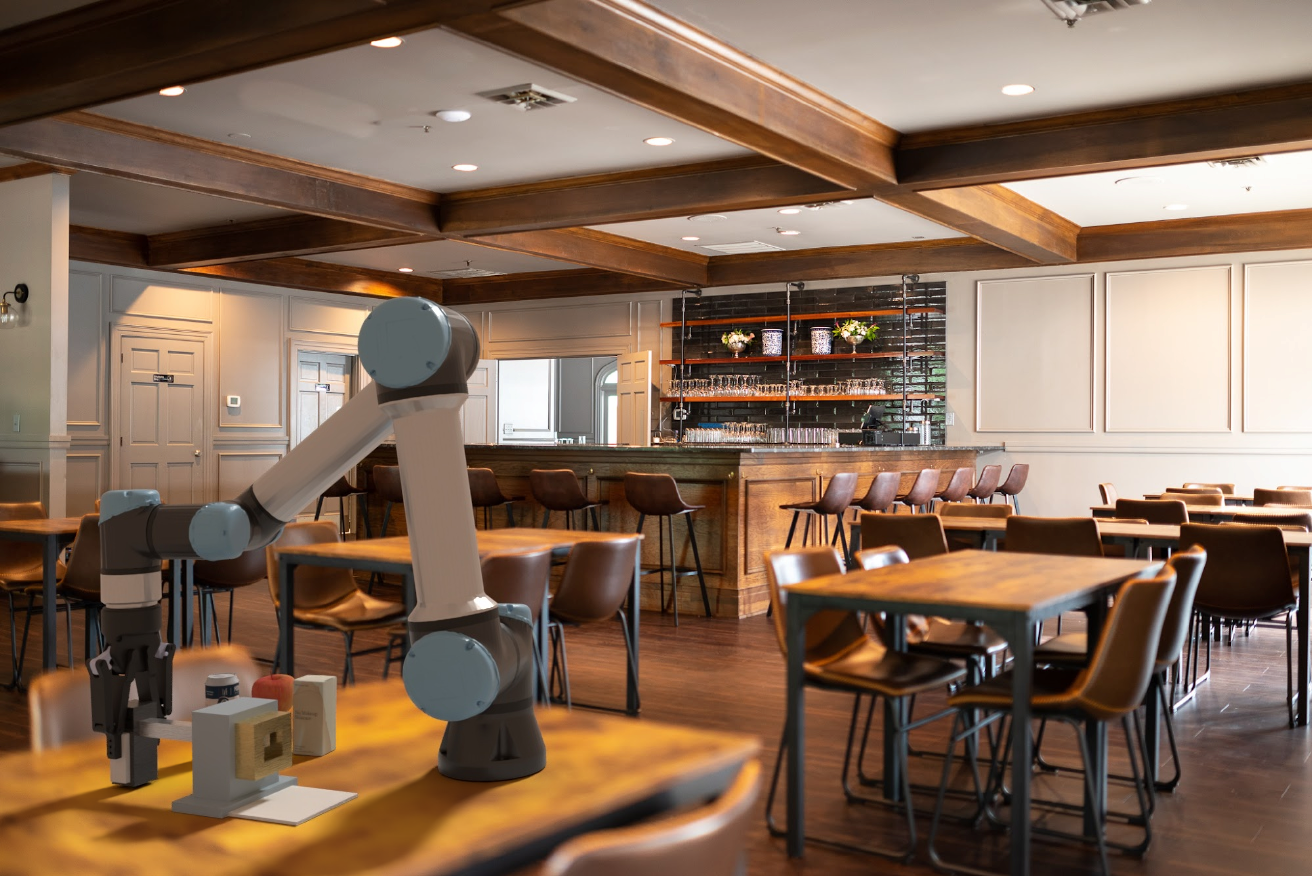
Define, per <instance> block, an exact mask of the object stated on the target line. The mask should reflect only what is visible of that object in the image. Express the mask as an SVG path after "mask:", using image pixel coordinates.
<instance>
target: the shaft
mask: <svg viewBox="0 0 1312 876" xmlns="http://www.w3.org/2000/svg"><path fill="white" fill-rule="evenodd" d="M114 725H115V723H114ZM124 733H129V734H130V782H129V783H126V784H125V783H117V782H111V784H112V785H115V786H116V785H117V786H125V787H133V788H134V787H139V786H140V785H143V784H146V783H149V782H152V781H155V780H157V779H158V778H159V777H158V776H159V775H158V773H159V765H157V753H158V746H157V738H160V740H161V739H162V740H170V741H171V740H172V741H181V742H188V743H192V721H187V720H186V721H185V720H176V719H158V718H157V701H147V700H139V699H134V698H133V699H130V700H129V701H128V708H127V715H126V722H125V729H124ZM267 746H270V734H268V735H265V736H264V747H267Z"/></svg>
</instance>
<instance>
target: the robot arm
mask: <svg viewBox="0 0 1312 876" xmlns="http://www.w3.org/2000/svg"><path fill="white" fill-rule="evenodd" d="M357 352H358V353H357V354H358V355H357V356H358V358H359V361H360V363H361V366H362V367H363V370H364V371H365V372H366V373H367V374H368V375H369V377H370V378H371V379H372V380H371V381H370V382H368V383H367V385H365V386H364V387H363V388H361V390H360V391H358V392H357V393H356V394H355V395H353V396H352V397H351V398H350V399H349V400H348V401H347V402H346V403H344V404H343V405H342V406H341V407H340V408H339V409H338V410H336V411H335V412H334V413H333V414H332V415H330V416H329V417H328V418H327V419H326V420H325V421H324V422H323V423H321V424H320V425H319V426H318V427H317V428H316V429H314V430H313V431H312V432H311V433H310V434H309V435H307V436H306V437H305V438H304V439H303V440H302V441H300V442H299V443H298V444H296V446H294V447H293V448H292V449H291V450H290V451H289V452H287V453H286V454H285V455H284V456H283V457H282V458H281V459H280V460H278V461H277V462H276V463H274V464H273V465H272V466H271V467H270V468H269V469H268V470H266V471H265V472H264V473H263V474H262V475H261V476H260V477H258V478H257V479H256V480H255V481H254V482H253V483H252V484H251V485H249V487H247V488H246V489H245V490H244V491H243V492H241V493H240V494H239V495H238V496H236V497H234V499H228V500H221V501H209V502H200V503H199V502H198V503H197V502H196V503H175V504H170V503H169V504H168V503H163V502H162V500H161V497H160V496H161V494H160V492H159V491H158V490H156V489H154V488H153V489H152V488H150V489H148V488H147V489H146V488H144V489H143V488H142V489H141V488H138V489H118V490H117V489H116V490H108V491H106V492H104V493H103V494H102V495H101V497H100V500H99V501H100V503H99V520H98V524H97V525H98V531H99V532H98V533H99V544H100V545H99V546H100V548H99V549H100V551H99V552H100V602H101V603H103V604H104V605H105V606H103V607H102V609H101V610H100V630H101V634H102V635H103V636H104V639H105V642H104V646H103V648H102V653H101V654H99V655H98V656H96V657H95V658H92V657H91V658H87V660H85V668H86V670H87V673H88V675H89V688H90V705H91V706H90V707H91V708H90V709H91V728H92V731H93V732H95V733H101V734H105V736H106V757H107V759H109V761H110V762H109V769H110V770H109V771H110V782H111V783H112V782H117V783H125V784H126V783H129V782H130V734H129V733H124V729H125V722H126V715H127V708H128V701H130V700H129V699H130V694H131V685H132V683H133V682H135V686H136V691H137V692H136V693H137V697H138V700H147V701H157V718H158V719H167V716H171V715H172V713H173V680H174V679H173V668H174V665H173V664H174V663H173V661H174V657H175V654H176V650H177V646H176V644H175V643H170V642H169V643H167V642H162V641H161V639H160V636H159V631H161V629H162V628H163V613H162V612H163V606H162V605H161V604H160V603H159V602H158V601H160V600H161V599H162V598H163V596H162V593H163V591H162V561H168V560H191V561H193V560H194V561H195V560H196V561H197V560H201V561H205V560H206V561H208V562H209V561H210V562H216V561H221V560H222V561H223V560H229V559H230V560H233V559H237V558H239V557H240V556H242V554H243V552H247V551H248V552H249V551H257V550H261V549H264V548H267V546H271V545H272V544H274V543H275V542H277V541H278V540H279V539H280V538H281V536H282V535H283V533H284V531H285V528H286V525H287V524H288V523H289V522H291V520H293V519H294V518H295V517H297V515H299V514H300V513H302V511H303V510H304V509H306V508H307V507H309V505H311V503H313V502H314V501H315V500H317V498H319V497H320V496H321V495H322V494H323V493H325V492H327V490H328V489H329V488H330V487H332V486H333V485H334V484H335V483H337V482H338V481H339V480H340V479H341V478H342V477H343V476H345V475H346V474H347V473H348V472H349V471H351V470H352V469H353V468H354V467H355V466H357V464H359V463H360V462H361V461H363V460H364V459H365V458H366V457H367V456H368V455H370V454H371V453H372V452H373V451H374V450H375V449H376V448H377V447H379V446H380V445H381V444H383V442H385V441H386V440H387V439H388V438H390V437H391V436H392V435H394V441H395V448H396V455H397V456H396V457H397V462H398V469H399V478H400V484H401V490H402V499H403V505H404V506H403V508H404V514H405V521H406V528H407V529H406V530H407V535H408V542H409V550H410V556H411V563H412V572H413V578H414V585H415V586H414V587H415V592H416V601H417V602H416V606H414V608H413V610H412V611H411V613H410V614H409V615H408V617H407V624H408V631H409V640H410V648H409V651H408V652H407V654H406V656H405V658H404V662H403V665H402V682H403V686H404V689H405V691H406V694H407V696H408V697H409V699H410V701H411V702H412V703H413V705H415V707H416V708H417V709H419V710H420V711H421V712H423V713H424V714H426V716H428V717H430V718H433V719H436V720H439V721H444V722H446V724H445V725H446V726H445V729H444V733H443V736H442V738H441V743H440V745H439V750H438V752H437V770H438V772H439V774H441V775H444V776H445V777H448V778H452V779H456V780H463V781H471V782H472V781H473V782H474V781H476V782H486V781H487V782H489V781H491V782H492V781H503V780H511V779H518V778H521V777H525V776H529V775H532V774H534V773H537V772H539V771H541V770H543V769H544V768H545V767H546V766H547V747H546V744H545V741H544V737H543V735H542V732H541V728H540V726H539V723H538V720H537V717H536V714H535V711H534V673H533V672H534V668H533V667H534V663H533V662H534V661H533V659H534V658H533V657H534V656H533V653H534V651H533V650H534V648H533V647H534V645H533V642H534V640H533V632H534V631H533V630H534V623H533V617H532V610H531V607H529V606H528V605H527V604H523V603H498V602H497V601H495V600H494V599H493V598H491V597H490V596H489V595H487V594H486V592H485V589H484V588H485V587H484V582H483V574H482V567H481V561H480V553H479V544H478V538H477V531H476V526H475V525H476V523H475V518H474V509H473V503H472V495H471V489H470V488H471V487H470V479H469V475H468V474H469V473H468V467H467V459H466V453H465V451H466V450H465V445H464V437H463V431H462V429H463V428H462V422H461V416H460V410H461V408H462V407H463V405H464V404H465V402H466V401H467V400H468V399H469V396H470V395H469V388H468V381H469V380H470V378H471V377H472V376H473V374H474V372H475V371H476V369H477V367H478V364H479V362H480V357H481V342H480V337H479V335H478V331H477V329H476V328H475V327H474V324H473V323H472V321H471V320H470V319H469V318H468V317H466V316H465V315H464V314H462V313H461V312H460V311H458V310H456V309H454V308H451V307H448V306H444V305H440V304H439V303H436V302H435V301H433V300H430V299H428V298H425V297H421V296H397V297H393V298H390V299H387V300H385V301H383V302H382V303H380V304H379V305H376V306H375V307H374V308H373V309H372V310H371V311H370V313H369V314H368V315H367V317H365V319H364V320H363V323H362V324H361V327H360V329H359V333H358V337H357ZM114 723H115V725H114ZM160 742H161V738H157V747H159V746H160V744H161V743H160ZM158 760H159V759H158V752H157V765H158V763H159V761H158ZM158 766H159V765H158Z"/></svg>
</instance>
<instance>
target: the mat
mask: <svg viewBox="0 0 1312 876" xmlns="http://www.w3.org/2000/svg"><path fill="white" fill-rule="evenodd" d="M358 797H359V793H357V792H348V791H341V790H334V789H333V790H332V789H325V788H318V787H317V788H316V787H309V786H300V785H298V786H294V785H292V786H290V787H287V788H285V789H283V790H280V791H278V792H276V793H273V794H271V795H269V796H266V797H264V798H261V799H259V800H257V801H254V802H252V803H250V804H247V805H245V806H243V807H240V808H238V809H235V810H233V811H231V812H228V816H227V817H233V818H240V819H246V820H247V819H248V820H255V821H262V822H270V823H276V824H283V825H289V826H299V825H301V824H303V823H305V822H307V821H309V820H311V819H314V818H316V817H318V816H320V815H322V814H324V813H327V812H328V811H330V810H331V811H332V810H333V809H335V808H337V807H339V806H341V805H343V804H345V803H347V802H349V801H352V800H353V799H356V798H358Z"/></svg>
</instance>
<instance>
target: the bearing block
mask: <svg viewBox="0 0 1312 876" xmlns="http://www.w3.org/2000/svg"><path fill="white" fill-rule="evenodd" d="M270 711H278V700H273V699H262V698H252V696H251V697H249V696H248V697H247V696H239V698H236V699H232V700H229V701H226V702H222V703H219V704H216V705H212V706H209V707H206V708H205V707H203V708H199V709H196V710H192V711H191V722H192V742H191V751H192V752H191V756H192V757H191V759H192V761H191V762H192V763H191V764H192V765H191V767H192V773H191V774H192V793H190V794H188V795H186V796H182V797H181V798H178V799H175V800H173V801H171V812H173V813H180V814H181V813H182V814H189V815H194V816H201V817H210V818H216V819H217V818H218V819H225V818H226V817H229V816H228V812H231V811H233V810H235V809H238V808H240V807H243V806H245V805H247V804H250V803H252V802H254V801H257V800H259V799H261V798H264V797H266V796H269V795H271V794H273V793H276V792H278V791H280V790H283V789H285V788H287V787H290V786H292V785H294V786H299V785H298V784H299V783H298V780H299V779H298V776H292V775H291V776H289V775H282V774H281V775H280V774H279V773H280V771H278V772H276V773H273V774H271V775H268V776H266V777H263V778H261V779H258V780H256V781H251V780H243V779H236V761H235V723H236V722H239V721H243V720H246V719H249V718H252V717H255V716H258V715H261V714H264V713H267V712H270Z"/></svg>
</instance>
